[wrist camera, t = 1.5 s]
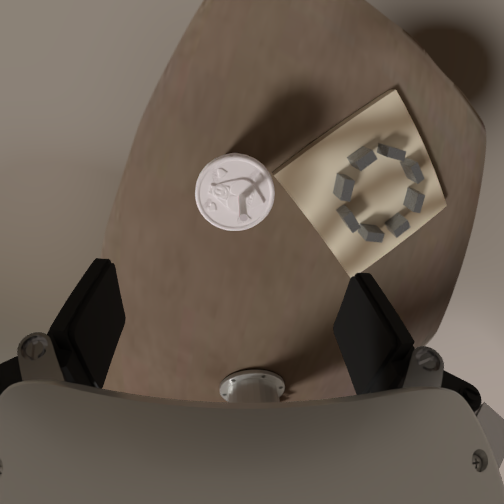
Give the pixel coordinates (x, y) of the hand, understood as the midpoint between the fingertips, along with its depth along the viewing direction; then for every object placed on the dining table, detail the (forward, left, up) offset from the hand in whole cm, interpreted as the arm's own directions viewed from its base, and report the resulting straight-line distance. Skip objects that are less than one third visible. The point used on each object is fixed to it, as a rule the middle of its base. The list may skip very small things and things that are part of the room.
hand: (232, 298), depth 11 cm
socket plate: (-12, -12, -22) cm, 28 cm away
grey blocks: (-12, -12, -21) cm, 27 cm away
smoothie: (0, 0, -23) cm, 23 cm away
